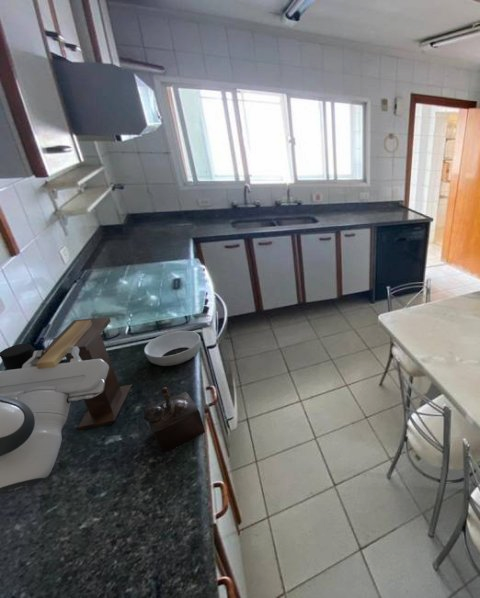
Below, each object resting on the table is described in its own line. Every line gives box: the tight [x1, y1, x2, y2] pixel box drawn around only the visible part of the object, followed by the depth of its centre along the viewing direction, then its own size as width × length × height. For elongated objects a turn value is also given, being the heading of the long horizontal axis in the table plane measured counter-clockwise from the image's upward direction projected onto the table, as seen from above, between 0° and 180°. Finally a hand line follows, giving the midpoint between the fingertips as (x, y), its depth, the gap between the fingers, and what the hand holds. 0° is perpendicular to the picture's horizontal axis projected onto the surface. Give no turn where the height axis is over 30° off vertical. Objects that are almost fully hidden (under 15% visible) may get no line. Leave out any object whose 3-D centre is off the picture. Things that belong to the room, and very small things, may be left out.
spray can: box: [0, 342, 37, 371], centre depth 92 cm, size 7×7×20 cm
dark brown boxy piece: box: [143, 386, 206, 455], centre depth 84 cm, size 16×11×18 cm
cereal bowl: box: [143, 330, 202, 367], centre depth 119 cm, size 17×17×7 cm
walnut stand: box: [43, 316, 133, 431], centre depth 92 cm, size 8×16×26 cm, turn 22°
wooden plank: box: [36, 320, 92, 369], centre depth 81 cm, size 3×20×2 cm, turn 22°
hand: (57, 349), depth 77 cm, fingers open, 5 cm apart
